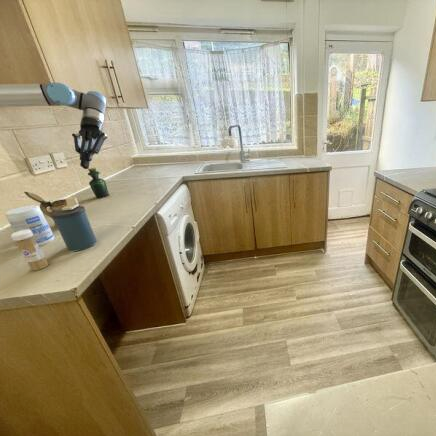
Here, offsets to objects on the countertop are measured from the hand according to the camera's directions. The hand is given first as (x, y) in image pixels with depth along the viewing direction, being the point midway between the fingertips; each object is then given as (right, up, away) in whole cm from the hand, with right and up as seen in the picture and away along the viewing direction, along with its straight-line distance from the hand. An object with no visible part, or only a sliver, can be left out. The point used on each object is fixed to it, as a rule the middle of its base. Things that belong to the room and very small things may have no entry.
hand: (84, 167), depth 101 cm
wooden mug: (-23, -24, +15) cm, 36 cm away
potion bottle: (-33, -8, +53) cm, 63 cm away
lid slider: (+3, -17, -10) cm, 20 cm away
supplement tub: (-17, -31, -2) cm, 36 cm away
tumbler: (+4, -32, -5) cm, 33 cm away
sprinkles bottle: (0, -38, -18) cm, 42 cm away
